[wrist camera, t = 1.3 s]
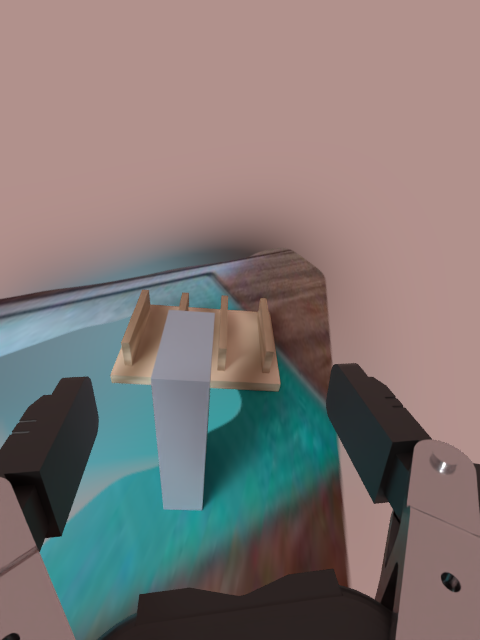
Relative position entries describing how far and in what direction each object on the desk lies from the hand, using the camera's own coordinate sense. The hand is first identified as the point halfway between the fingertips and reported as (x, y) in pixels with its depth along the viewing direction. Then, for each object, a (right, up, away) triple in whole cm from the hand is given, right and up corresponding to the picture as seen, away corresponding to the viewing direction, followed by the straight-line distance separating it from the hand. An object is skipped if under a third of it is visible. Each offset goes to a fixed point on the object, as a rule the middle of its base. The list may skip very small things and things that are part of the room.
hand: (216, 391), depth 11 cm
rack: (-4, -1, +30) cm, 30 cm away
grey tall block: (-4, -11, +17) cm, 21 cm away
